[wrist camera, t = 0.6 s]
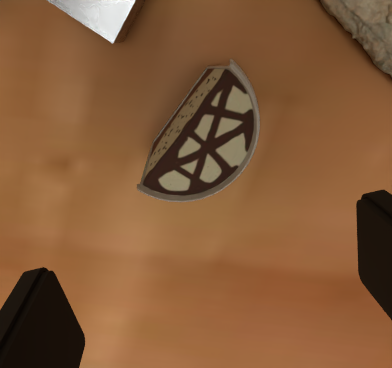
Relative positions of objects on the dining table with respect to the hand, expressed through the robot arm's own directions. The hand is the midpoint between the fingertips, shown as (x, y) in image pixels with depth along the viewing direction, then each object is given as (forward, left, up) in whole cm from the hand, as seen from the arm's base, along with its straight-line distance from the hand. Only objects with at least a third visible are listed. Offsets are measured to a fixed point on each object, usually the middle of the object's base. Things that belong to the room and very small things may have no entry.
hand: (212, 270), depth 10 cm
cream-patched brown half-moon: (0, +3, -26) cm, 26 cm away
